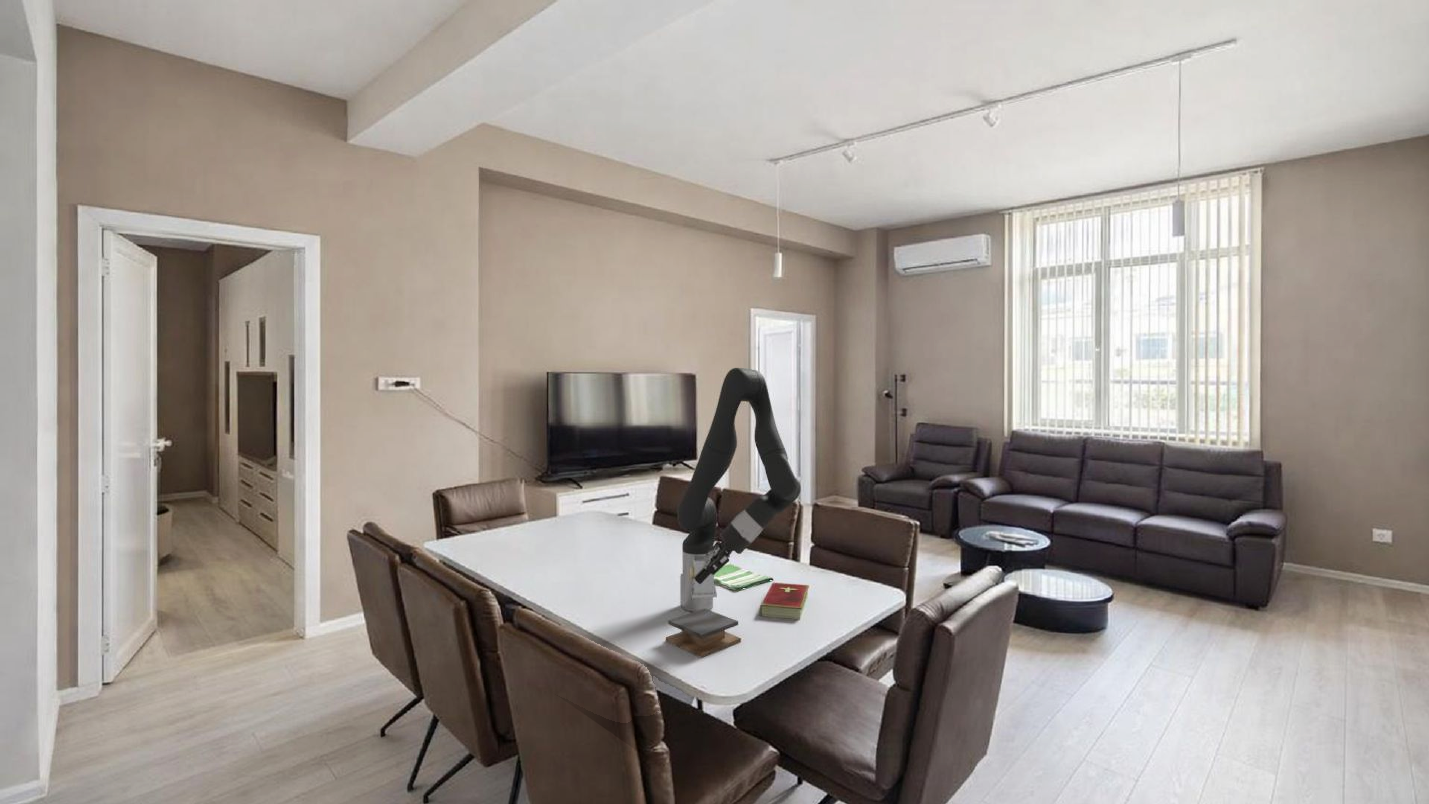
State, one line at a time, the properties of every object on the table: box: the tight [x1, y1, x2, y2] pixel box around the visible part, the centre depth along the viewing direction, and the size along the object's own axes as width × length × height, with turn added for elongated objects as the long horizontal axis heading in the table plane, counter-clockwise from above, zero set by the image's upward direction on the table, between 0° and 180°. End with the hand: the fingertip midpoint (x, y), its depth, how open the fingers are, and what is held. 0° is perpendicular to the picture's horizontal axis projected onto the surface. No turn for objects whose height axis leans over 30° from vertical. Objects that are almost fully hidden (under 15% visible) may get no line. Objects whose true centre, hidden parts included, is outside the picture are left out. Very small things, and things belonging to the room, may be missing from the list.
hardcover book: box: [759, 581, 810, 620], centre depth 200 cm, size 12×21×4 cm, turn 166°
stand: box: [665, 608, 742, 658], centre depth 174 cm, size 14×14×6 cm
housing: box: [690, 555, 718, 598], centre depth 173 cm, size 6×7×9 cm
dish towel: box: [714, 562, 774, 592], centre depth 227 cm, size 18×23×3 cm
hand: (696, 577), depth 173 cm, fingers closed on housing, 5 cm apart
